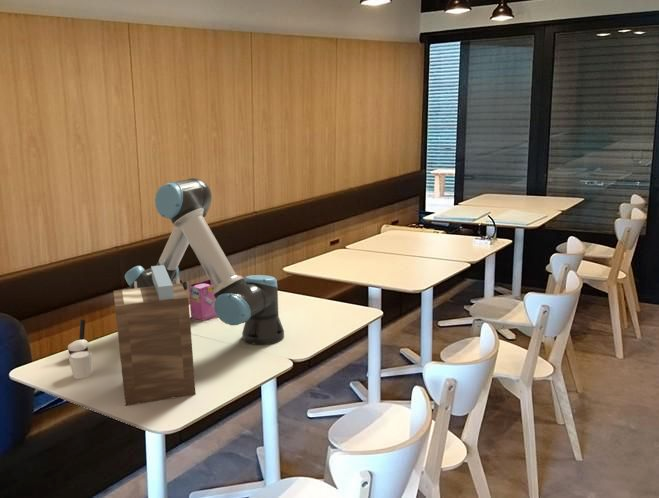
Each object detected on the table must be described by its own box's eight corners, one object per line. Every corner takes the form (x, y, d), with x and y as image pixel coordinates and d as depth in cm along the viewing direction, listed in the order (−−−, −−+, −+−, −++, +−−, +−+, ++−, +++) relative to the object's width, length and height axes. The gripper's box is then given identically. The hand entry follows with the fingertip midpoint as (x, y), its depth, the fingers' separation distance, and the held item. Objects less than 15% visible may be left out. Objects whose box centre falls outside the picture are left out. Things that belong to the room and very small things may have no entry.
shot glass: (74, 371, 213) (72, 351, 211) (96, 370, 213) (93, 350, 212) (68, 380, 206) (65, 359, 204) (90, 378, 207) (88, 358, 205)
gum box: (236, 302, 280) (234, 272, 277) (248, 306, 275) (247, 275, 272) (190, 317, 263) (187, 284, 260) (202, 321, 258) (199, 288, 255)
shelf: (123, 383, 202) (113, 290, 196) (188, 373, 209) (181, 282, 202) (125, 405, 188) (115, 305, 181) (195, 394, 194) (188, 297, 187)
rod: (152, 278, 208) (151, 266, 207) (165, 277, 209) (164, 264, 208) (159, 300, 185) (158, 286, 184) (173, 298, 186) (172, 285, 186)
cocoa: (74, 364, 219) (70, 331, 216) (62, 360, 222) (58, 328, 219) (97, 354, 227) (93, 322, 223) (85, 350, 230) (81, 318, 226)
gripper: (192, 304, 236) (197, 289, 217) (119, 313, 228) (118, 298, 209) (189, 284, 238) (194, 267, 219) (117, 292, 230) (116, 276, 211)
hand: (157, 282), depth 214 cm, fingers open, 13 cm apart
